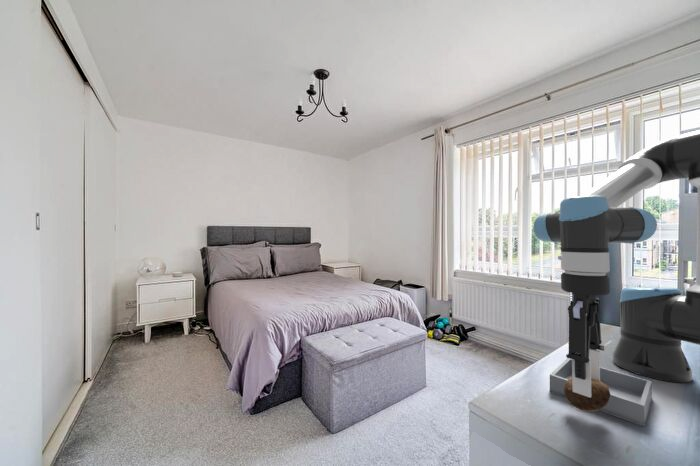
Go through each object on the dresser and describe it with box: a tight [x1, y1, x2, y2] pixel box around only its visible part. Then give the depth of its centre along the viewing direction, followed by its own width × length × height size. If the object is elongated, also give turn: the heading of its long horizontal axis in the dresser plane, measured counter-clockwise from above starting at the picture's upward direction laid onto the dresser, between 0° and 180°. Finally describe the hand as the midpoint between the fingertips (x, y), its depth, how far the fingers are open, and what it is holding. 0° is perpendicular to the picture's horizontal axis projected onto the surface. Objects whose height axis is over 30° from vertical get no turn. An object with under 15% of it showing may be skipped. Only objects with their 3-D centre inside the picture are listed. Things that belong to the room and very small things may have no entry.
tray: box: [549, 357, 653, 427], centre depth 64 cm, size 15×15×4 cm
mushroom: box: [564, 378, 610, 413], centre depth 55 cm, size 8×8×6 cm
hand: (586, 386), depth 56 cm, fingers closed on mushroom, 7 cm apart
